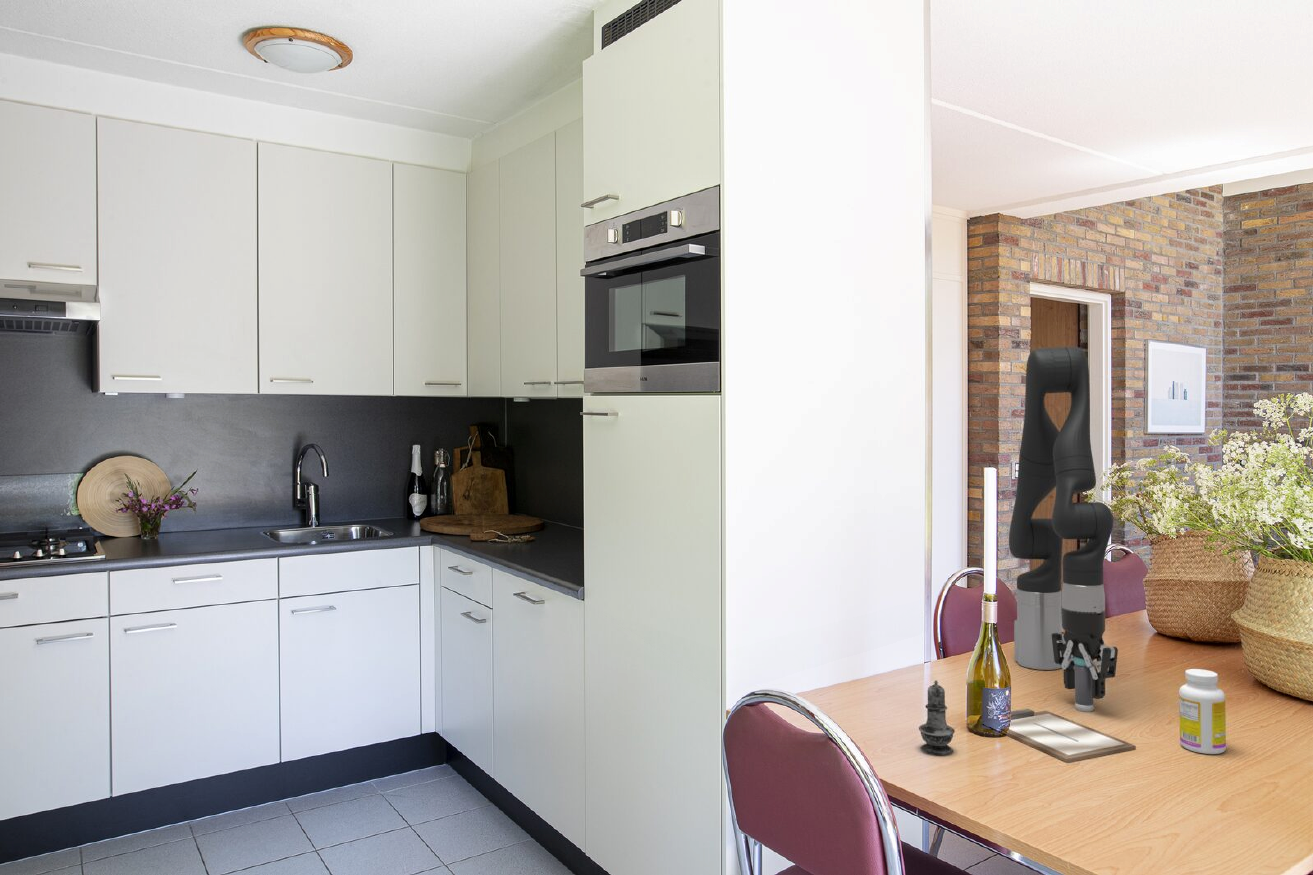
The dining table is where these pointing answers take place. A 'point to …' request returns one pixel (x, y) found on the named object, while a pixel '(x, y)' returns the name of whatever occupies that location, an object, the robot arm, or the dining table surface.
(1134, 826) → the dining table surface
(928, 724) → the salt shaker
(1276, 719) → the dining table surface
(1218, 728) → the supplement bottle
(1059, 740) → the clipboard
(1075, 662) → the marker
